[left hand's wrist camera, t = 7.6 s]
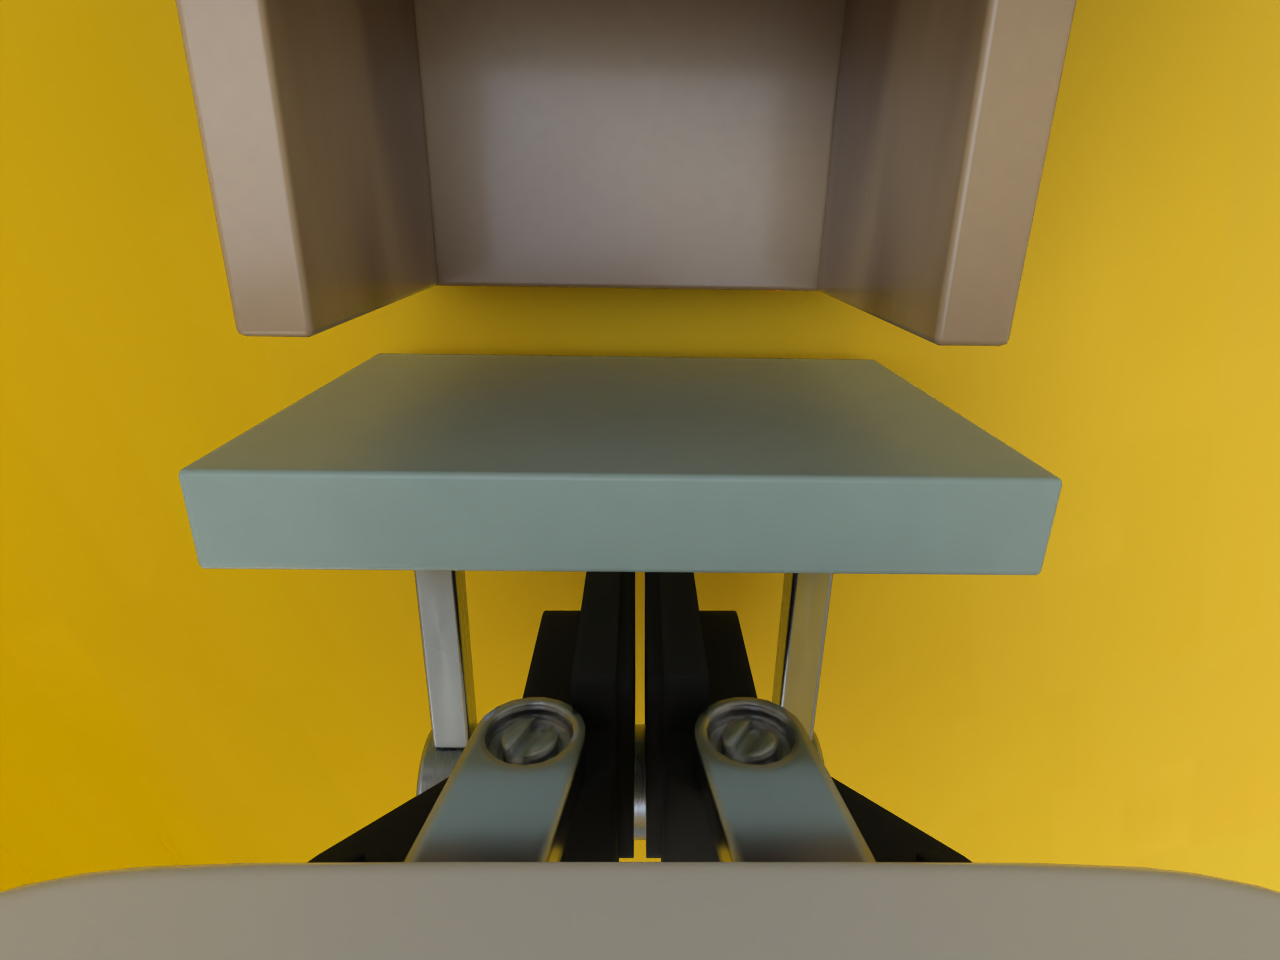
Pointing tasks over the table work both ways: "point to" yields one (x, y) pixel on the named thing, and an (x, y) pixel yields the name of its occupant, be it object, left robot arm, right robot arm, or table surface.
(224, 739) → the table surface
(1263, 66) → the table surface
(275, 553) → the drawer
